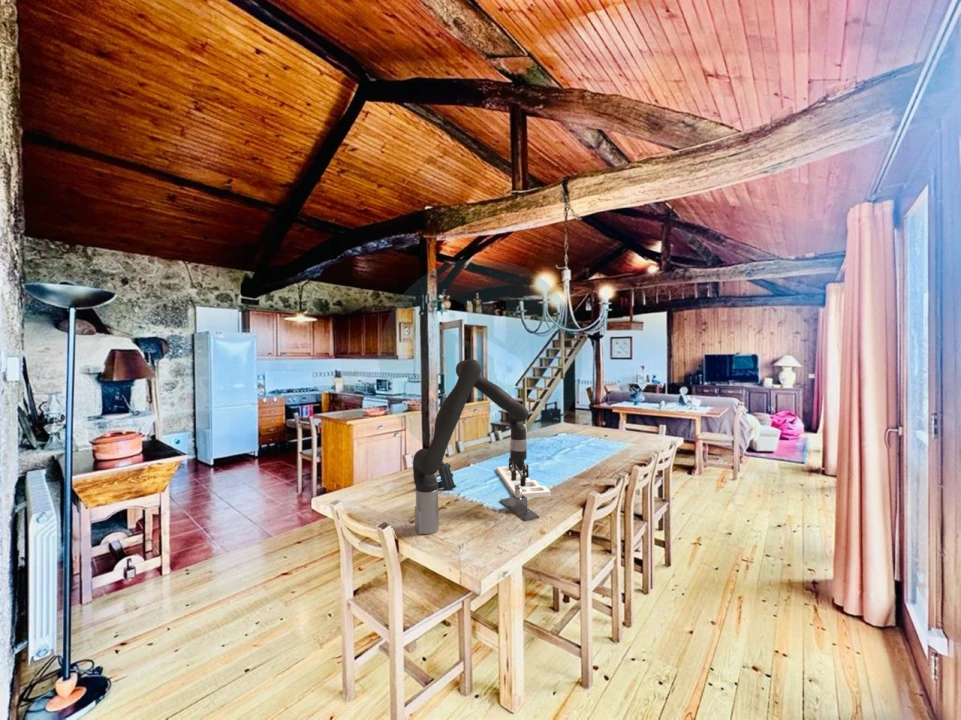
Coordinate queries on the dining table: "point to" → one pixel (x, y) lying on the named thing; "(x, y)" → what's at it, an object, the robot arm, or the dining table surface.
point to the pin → (518, 492)
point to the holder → (526, 491)
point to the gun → (445, 477)
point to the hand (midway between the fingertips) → (518, 483)
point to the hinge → (519, 507)
